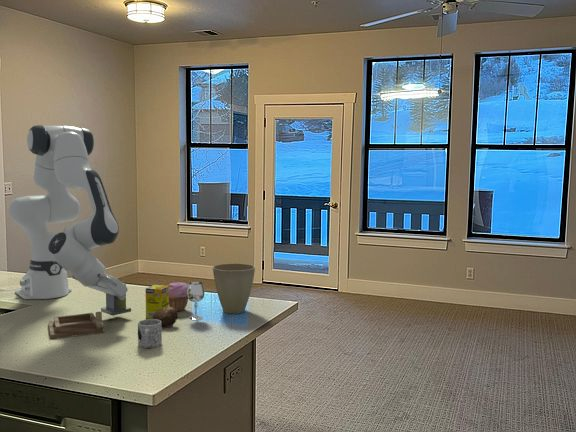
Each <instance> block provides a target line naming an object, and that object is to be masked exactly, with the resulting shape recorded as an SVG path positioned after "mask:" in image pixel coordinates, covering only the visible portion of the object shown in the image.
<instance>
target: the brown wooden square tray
mask: <svg viewBox="0 0 576 432" xmlns="http://www.w3.org/2000/svg"><path fill="white" fill-rule="evenodd" d="M102 313H103V312H101V311H96V312H95V314H94V312H87V313H78V314H77V313H76V314H68V315H59V316H53V320H51V321H48V330H49V335H50V339H59V338H68V337H69V338H70V337H78V336H79V337H80V336H86V335H96V334H103V333H104V327H103V319H102V318H103V314H102Z"/></svg>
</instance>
